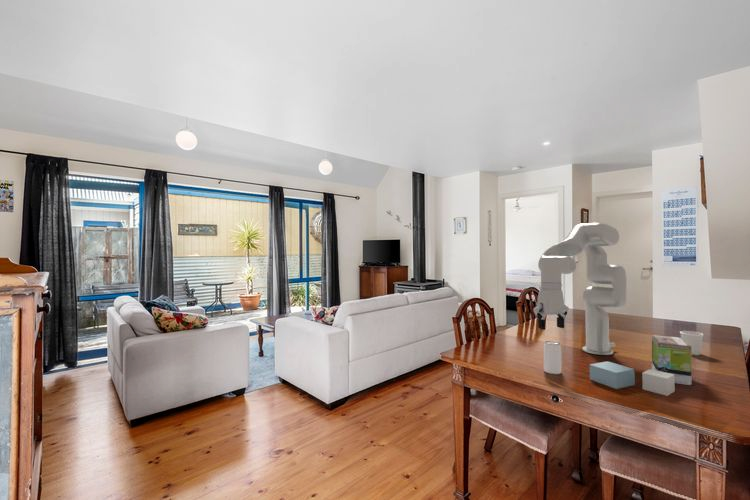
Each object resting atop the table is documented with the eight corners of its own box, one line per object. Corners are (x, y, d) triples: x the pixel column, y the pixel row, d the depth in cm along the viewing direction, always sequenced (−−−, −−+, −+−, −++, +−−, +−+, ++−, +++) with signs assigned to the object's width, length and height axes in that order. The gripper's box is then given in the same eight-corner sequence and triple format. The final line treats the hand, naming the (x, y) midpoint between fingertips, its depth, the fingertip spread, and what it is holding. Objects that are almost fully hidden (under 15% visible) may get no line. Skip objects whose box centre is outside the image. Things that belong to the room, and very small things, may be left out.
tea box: (693, 386, 124) (692, 345, 125) (657, 381, 130) (656, 341, 130) (683, 373, 137) (682, 336, 137) (651, 369, 142) (650, 333, 143)
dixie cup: (694, 351, 167) (693, 330, 167) (709, 356, 158) (708, 335, 158) (675, 351, 168) (675, 330, 168) (689, 356, 159) (689, 334, 159)
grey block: (650, 385, 126) (650, 368, 126) (674, 391, 120) (674, 374, 120) (642, 389, 122) (642, 372, 122) (667, 396, 116) (667, 378, 116)
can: (563, 375, 137) (563, 345, 137) (546, 374, 138) (545, 344, 138) (558, 369, 143) (558, 341, 143) (541, 368, 144) (541, 340, 145)
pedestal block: (607, 376, 136) (607, 361, 136) (634, 385, 126) (634, 369, 126) (589, 380, 132) (589, 364, 132) (616, 389, 123) (615, 372, 123)
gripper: (559, 285, 147) (560, 325, 147) (527, 286, 142) (527, 327, 141) (575, 286, 140) (575, 328, 140) (541, 287, 135) (541, 331, 134)
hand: (551, 328), depth 140 cm, fingers open, 9 cm apart
